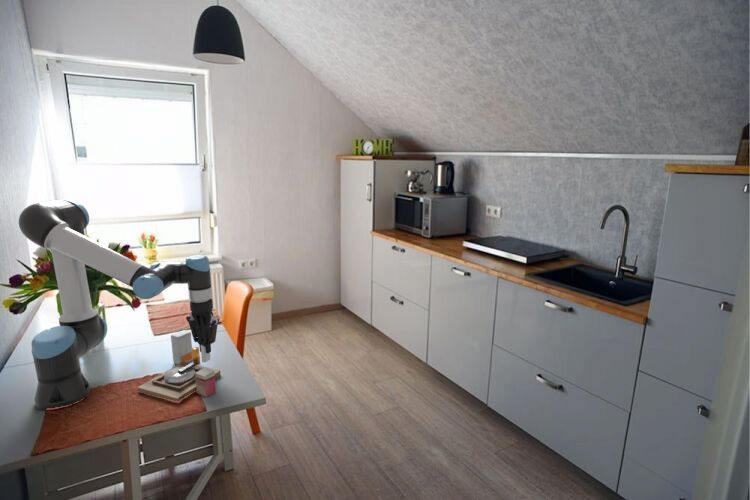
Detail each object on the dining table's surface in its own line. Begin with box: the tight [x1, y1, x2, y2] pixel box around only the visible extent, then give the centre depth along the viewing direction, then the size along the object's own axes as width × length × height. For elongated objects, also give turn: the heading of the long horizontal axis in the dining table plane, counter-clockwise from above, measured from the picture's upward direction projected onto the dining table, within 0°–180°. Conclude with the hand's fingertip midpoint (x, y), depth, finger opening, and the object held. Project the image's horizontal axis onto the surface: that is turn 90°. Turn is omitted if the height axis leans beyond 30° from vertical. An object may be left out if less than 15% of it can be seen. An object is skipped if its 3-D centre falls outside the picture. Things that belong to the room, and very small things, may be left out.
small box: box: [195, 367, 217, 398], centre depth 148 cm, size 5×4×8 cm
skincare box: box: [170, 329, 193, 365], centre depth 170 cm, size 6×4×12 cm
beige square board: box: [137, 362, 221, 401], centre depth 155 cm, size 20×18×3 cm
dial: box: [164, 346, 201, 386], centre depth 155 cm, size 14×10×8 cm
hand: (206, 360), depth 159 cm, fingers closed
